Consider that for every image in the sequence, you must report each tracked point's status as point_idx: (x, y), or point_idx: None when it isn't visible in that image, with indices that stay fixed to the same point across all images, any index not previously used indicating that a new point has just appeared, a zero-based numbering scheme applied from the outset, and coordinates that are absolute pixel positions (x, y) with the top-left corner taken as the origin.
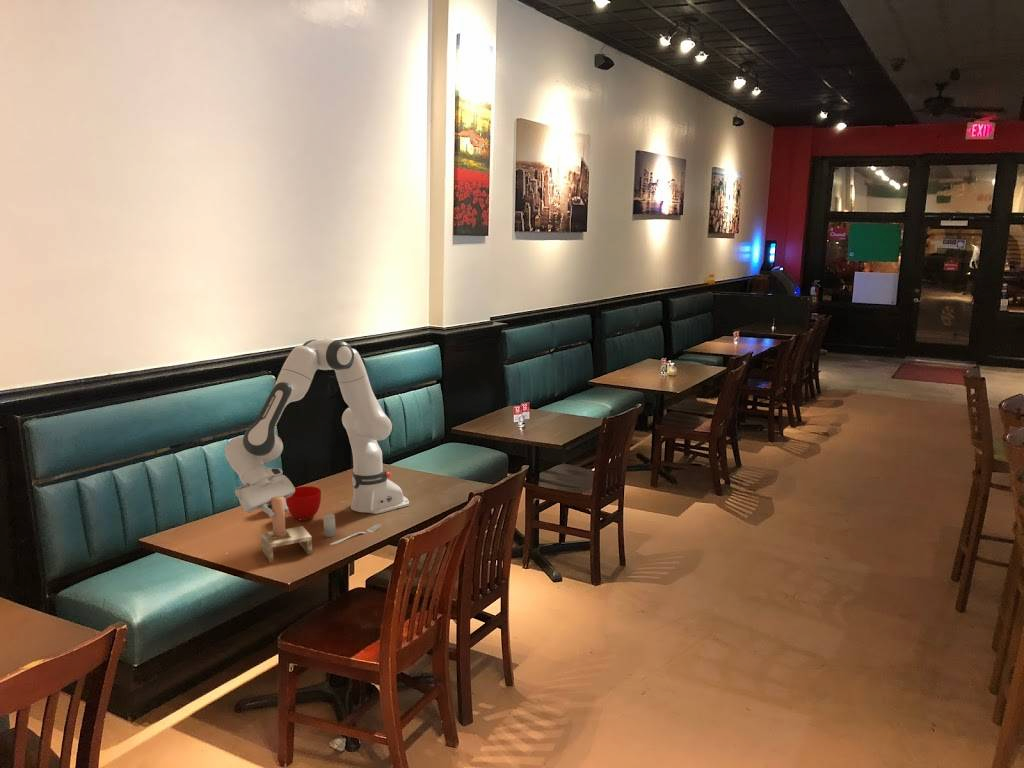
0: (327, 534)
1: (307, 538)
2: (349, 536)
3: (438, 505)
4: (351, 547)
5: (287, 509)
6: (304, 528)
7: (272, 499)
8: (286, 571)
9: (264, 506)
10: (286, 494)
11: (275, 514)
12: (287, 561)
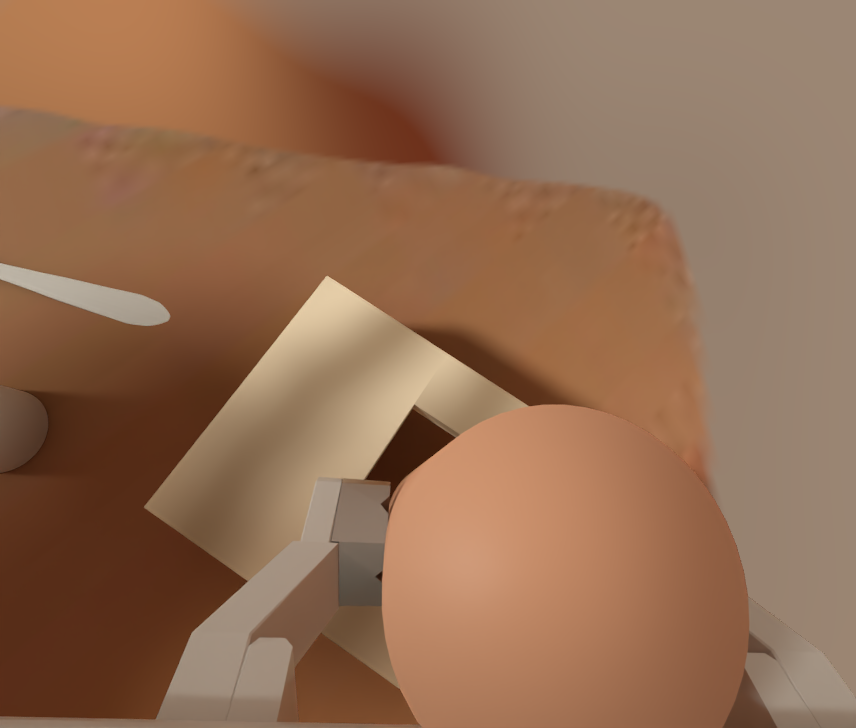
0: (34, 416)
1: (354, 297)
2: (8, 273)
3: None
4: (163, 182)
5: (335, 481)
6: (194, 447)
7: (737, 637)
8: (599, 292)
9: (839, 677)
10: (38, 724)
11: None
12: (500, 378)
